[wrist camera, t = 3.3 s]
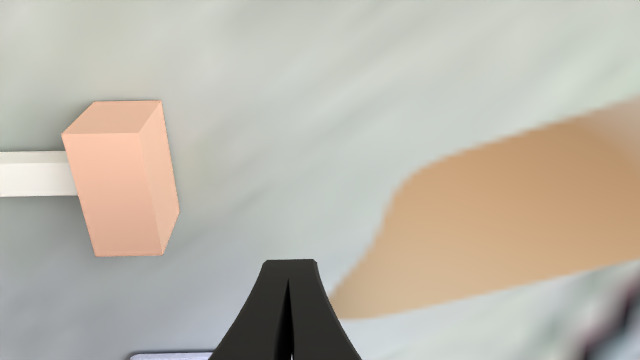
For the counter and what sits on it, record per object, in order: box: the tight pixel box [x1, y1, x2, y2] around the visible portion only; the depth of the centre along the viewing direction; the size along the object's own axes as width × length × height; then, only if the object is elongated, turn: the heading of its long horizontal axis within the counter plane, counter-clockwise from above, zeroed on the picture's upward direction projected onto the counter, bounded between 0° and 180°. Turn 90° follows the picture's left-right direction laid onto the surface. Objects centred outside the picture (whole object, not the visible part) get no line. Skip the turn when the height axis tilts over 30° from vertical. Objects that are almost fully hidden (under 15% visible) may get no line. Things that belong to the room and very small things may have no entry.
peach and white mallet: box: [0, 100, 180, 257], centre depth 18 cm, size 5×11×4 cm, turn 90°
